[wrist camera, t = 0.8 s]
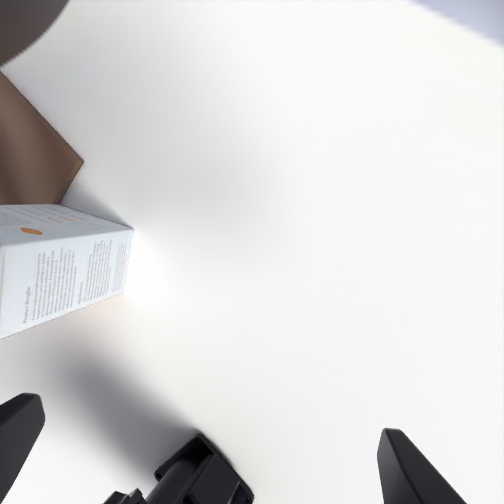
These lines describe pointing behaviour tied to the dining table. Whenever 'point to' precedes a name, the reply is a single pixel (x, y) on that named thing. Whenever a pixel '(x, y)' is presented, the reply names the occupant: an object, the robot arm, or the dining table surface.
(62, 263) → the small box
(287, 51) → the dining table surface
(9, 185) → the walnut board
